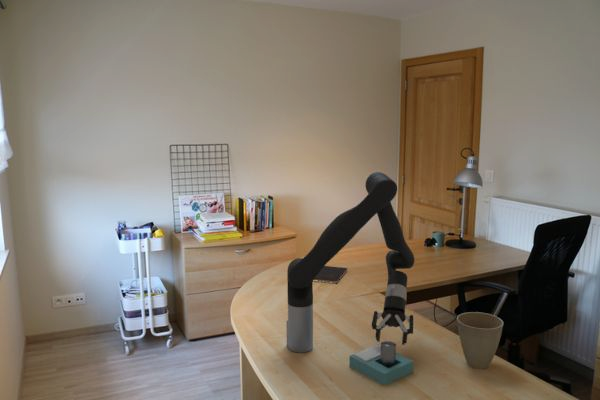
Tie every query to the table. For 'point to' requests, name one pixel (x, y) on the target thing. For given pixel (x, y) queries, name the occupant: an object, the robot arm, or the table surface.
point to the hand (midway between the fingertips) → (390, 342)
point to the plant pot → (479, 337)
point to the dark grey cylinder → (388, 354)
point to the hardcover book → (330, 274)
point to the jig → (372, 368)
